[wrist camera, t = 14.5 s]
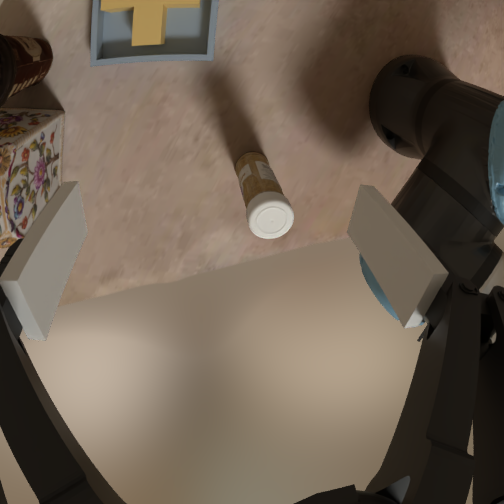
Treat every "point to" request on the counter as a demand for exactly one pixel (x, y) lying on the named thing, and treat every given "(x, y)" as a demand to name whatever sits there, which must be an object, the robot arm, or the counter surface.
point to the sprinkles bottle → (263, 197)
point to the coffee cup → (22, 64)
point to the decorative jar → (28, 167)
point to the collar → (147, 17)
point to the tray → (175, 48)
